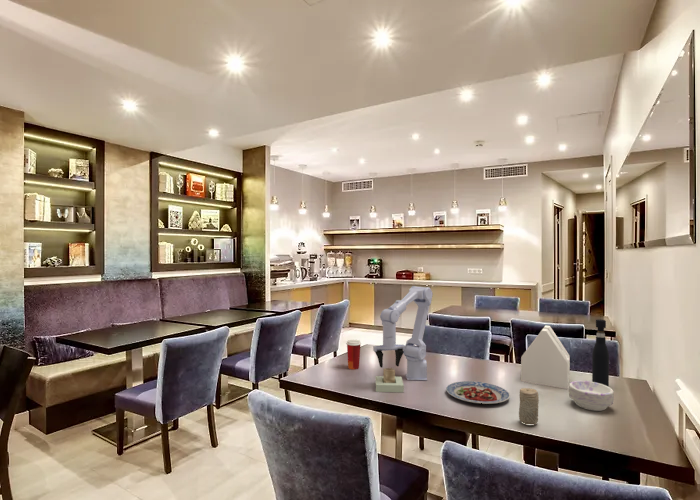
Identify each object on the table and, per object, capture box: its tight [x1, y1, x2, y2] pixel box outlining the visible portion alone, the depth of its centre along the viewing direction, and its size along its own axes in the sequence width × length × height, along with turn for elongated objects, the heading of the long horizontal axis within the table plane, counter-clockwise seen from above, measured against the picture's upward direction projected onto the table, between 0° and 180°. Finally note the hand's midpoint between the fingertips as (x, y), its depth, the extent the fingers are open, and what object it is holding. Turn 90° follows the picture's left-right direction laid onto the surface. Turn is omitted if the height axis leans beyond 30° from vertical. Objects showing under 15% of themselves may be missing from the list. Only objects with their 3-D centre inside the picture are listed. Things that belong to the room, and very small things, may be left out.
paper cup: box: [345, 339, 362, 371], centre depth 207 cm, size 8×8×14 cm
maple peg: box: [382, 367, 396, 383], centre depth 178 cm, size 4×4×8 cm
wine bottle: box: [591, 319, 610, 387], centre depth 182 cm, size 6×6×30 cm
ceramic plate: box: [445, 380, 511, 405], centre depth 169 cm, size 26×26×3 cm
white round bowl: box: [568, 380, 615, 412], centre depth 158 cm, size 15×15×8 cm
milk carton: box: [520, 325, 571, 390], centre depth 189 cm, size 19×15×25 cm
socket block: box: [374, 375, 405, 393], centre depth 178 cm, size 12×12×3 cm
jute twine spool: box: [518, 387, 540, 425], centre depth 142 cm, size 6×8×12 cm
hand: (389, 366), depth 178 cm, fingers open, 7 cm apart
